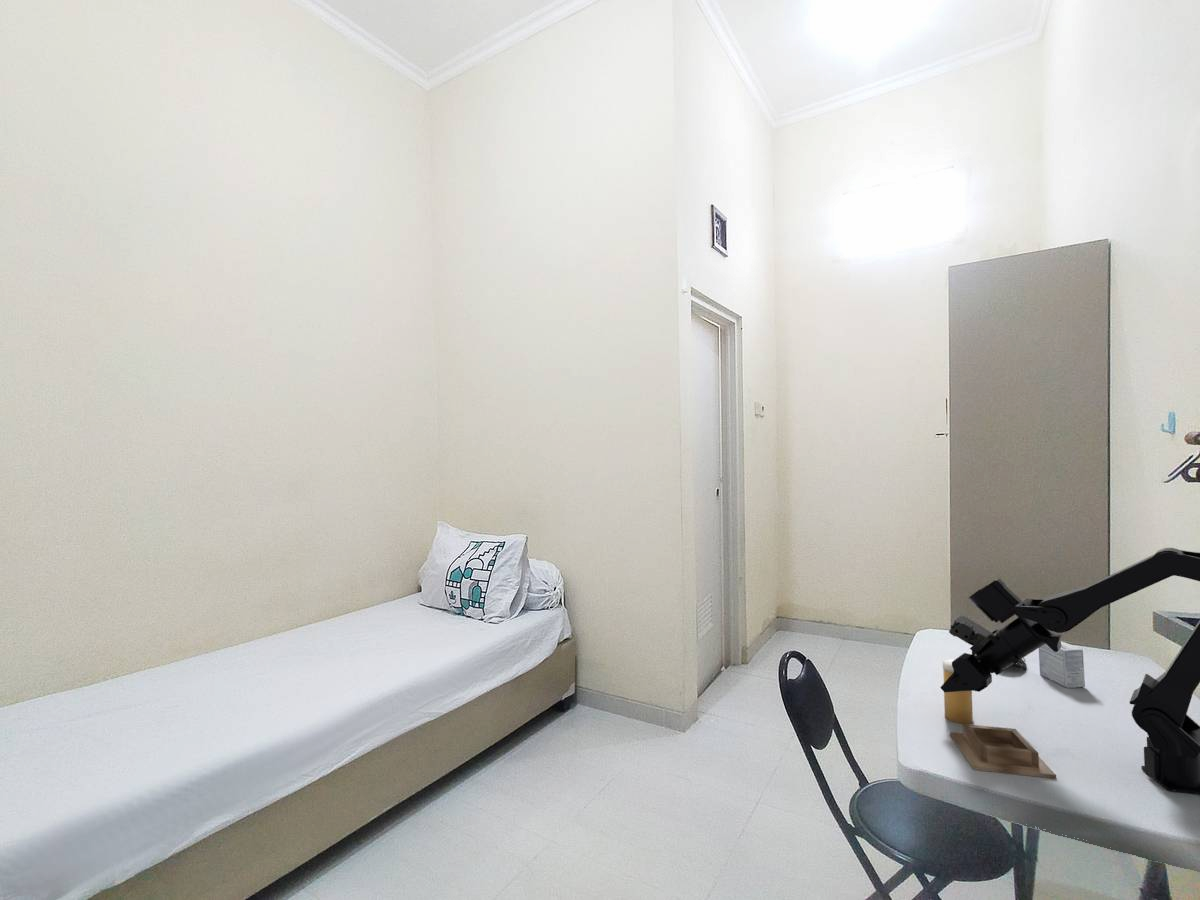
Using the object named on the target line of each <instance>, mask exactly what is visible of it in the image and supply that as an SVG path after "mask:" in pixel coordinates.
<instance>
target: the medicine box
mask: <svg viewBox="0 0 1200 900" xmlns="http://www.w3.org/2000/svg"><path fill="white" fill-rule="evenodd" d="M1061 645H1062V647H1061V648H1060V649H1059V651H1058V652H1054V651H1053V650H1052V649H1051V648H1050V647H1049V646H1048V645H1047V644H1044V645H1043V646H1041V647H1039V648H1038V659H1039V660H1038V661H1039V675H1040V676H1042V677H1045V679H1048V680H1050V681H1052V682H1055V683H1056V684H1058V685H1061V686H1063V687H1065V688H1067V689H1075V688H1076V687H1084V688H1085V687H1086V683H1085V682H1086V681H1085V663H1084V660H1085V659H1084V651H1083V649H1081V648H1079V647H1077V646H1074V645H1073V644H1069V643H1067V642H1065V641H1062V640H1061ZM1076 689H1077V688H1076Z"/></svg>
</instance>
